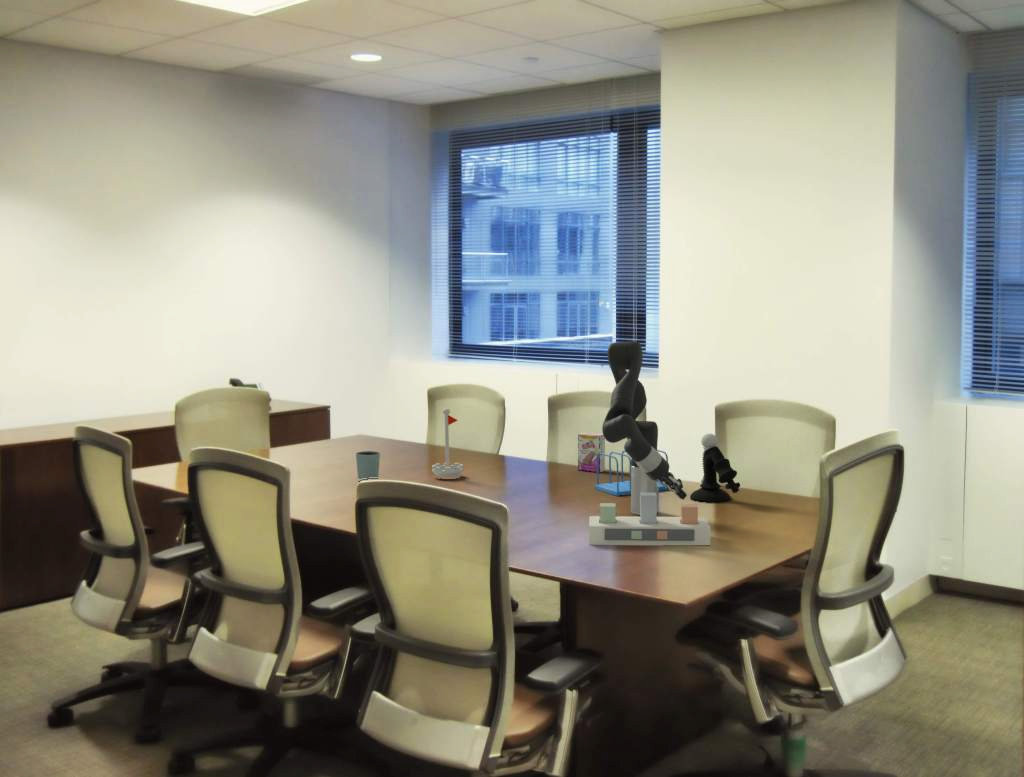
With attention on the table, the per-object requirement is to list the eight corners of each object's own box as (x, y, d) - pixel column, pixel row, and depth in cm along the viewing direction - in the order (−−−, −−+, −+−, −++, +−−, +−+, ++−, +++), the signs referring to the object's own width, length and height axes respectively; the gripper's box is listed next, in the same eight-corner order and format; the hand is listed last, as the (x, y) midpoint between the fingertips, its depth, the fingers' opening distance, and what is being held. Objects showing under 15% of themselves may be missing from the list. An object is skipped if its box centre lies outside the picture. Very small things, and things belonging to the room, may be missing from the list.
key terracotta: (681, 537, 331) (681, 507, 330) (680, 534, 336) (680, 503, 335) (697, 538, 331) (697, 507, 330) (696, 534, 336) (696, 503, 334)
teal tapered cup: (353, 479, 443) (352, 452, 441) (376, 477, 447) (375, 450, 446) (360, 483, 434) (359, 455, 432) (383, 481, 438) (383, 453, 437)
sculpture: (714, 493, 406) (714, 430, 403) (753, 504, 385) (754, 437, 382) (682, 497, 399) (682, 433, 396) (720, 509, 378) (721, 441, 375)
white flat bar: (588, 545, 329) (588, 526, 328) (589, 534, 343) (589, 516, 343) (710, 546, 325) (710, 527, 325) (705, 535, 340) (706, 517, 339)
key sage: (600, 537, 333) (599, 506, 332) (600, 533, 338) (600, 503, 337) (615, 537, 333) (615, 506, 332) (615, 533, 338) (615, 503, 337)
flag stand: (427, 479, 441) (426, 409, 438) (438, 474, 454) (437, 405, 451) (456, 480, 438) (455, 410, 435) (467, 475, 450) (465, 406, 447)
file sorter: (647, 483, 428) (647, 446, 427) (671, 490, 413) (671, 452, 411) (594, 489, 418) (594, 451, 416) (616, 496, 402) (616, 457, 401)
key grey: (640, 526, 332) (640, 495, 331) (640, 522, 337) (640, 492, 336) (656, 526, 331) (656, 495, 330) (655, 522, 336) (655, 492, 335)
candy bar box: (577, 470, 457) (577, 433, 455) (582, 469, 461) (582, 432, 460) (600, 473, 451) (600, 435, 449) (605, 471, 455) (605, 434, 454)
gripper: (670, 456, 319) (703, 491, 326) (647, 450, 331) (679, 484, 338) (655, 475, 318) (688, 510, 324) (632, 468, 330) (665, 502, 336)
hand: (683, 497), depth 331 cm, fingers closed
